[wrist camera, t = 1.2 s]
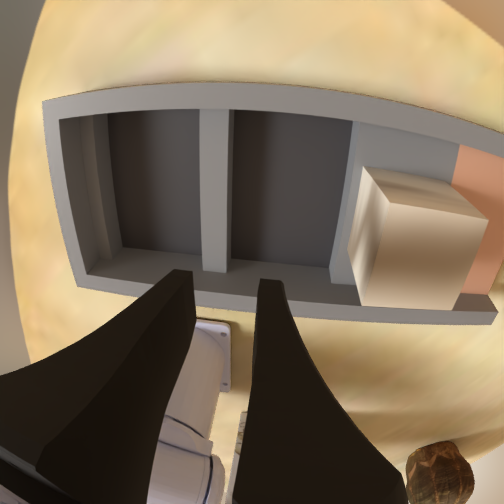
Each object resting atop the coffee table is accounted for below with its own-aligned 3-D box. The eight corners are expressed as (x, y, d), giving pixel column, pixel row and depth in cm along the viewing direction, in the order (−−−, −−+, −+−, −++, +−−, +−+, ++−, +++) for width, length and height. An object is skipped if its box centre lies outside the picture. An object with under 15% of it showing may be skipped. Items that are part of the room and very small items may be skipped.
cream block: (422, 257, 18) (451, 310, 13) (347, 249, 18) (361, 305, 14) (444, 180, 15) (488, 219, 11) (363, 166, 15) (389, 202, 11)
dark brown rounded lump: (472, 440, 35) (485, 499, 25) (418, 466, 40) (425, 523, 30) (452, 428, 32) (467, 499, 22) (390, 457, 37) (396, 524, 27)
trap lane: (471, 291, 21) (491, 324, 17) (102, 256, 23) (77, 286, 19) (520, 140, 14) (556, 158, 11) (81, 92, 16) (42, 101, 13)
